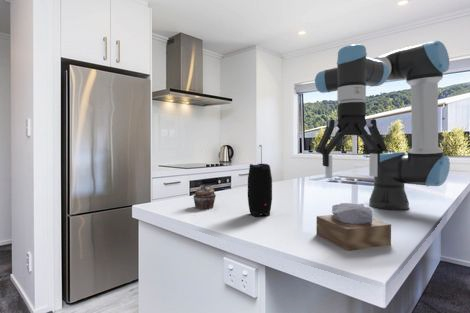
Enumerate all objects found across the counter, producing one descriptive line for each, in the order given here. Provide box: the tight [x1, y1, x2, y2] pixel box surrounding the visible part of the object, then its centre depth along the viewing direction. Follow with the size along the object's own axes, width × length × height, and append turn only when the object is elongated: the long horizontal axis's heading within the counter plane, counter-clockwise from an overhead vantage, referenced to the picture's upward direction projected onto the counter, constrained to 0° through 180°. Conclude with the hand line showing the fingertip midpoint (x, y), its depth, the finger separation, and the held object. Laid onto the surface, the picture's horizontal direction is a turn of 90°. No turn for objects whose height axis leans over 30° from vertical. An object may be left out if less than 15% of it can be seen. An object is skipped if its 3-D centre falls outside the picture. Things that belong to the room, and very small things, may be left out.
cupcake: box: [192, 184, 217, 211], centre depth 125 cm, size 10×10×10 cm
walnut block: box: [315, 214, 392, 252], centre depth 83 cm, size 14×14×6 cm
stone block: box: [331, 202, 373, 224], centre depth 84 cm, size 12×5×10 cm
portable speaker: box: [247, 163, 273, 218], centre depth 112 cm, size 9×9×20 cm
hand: (351, 177), depth 84 cm, fingers open, 13 cm apart
